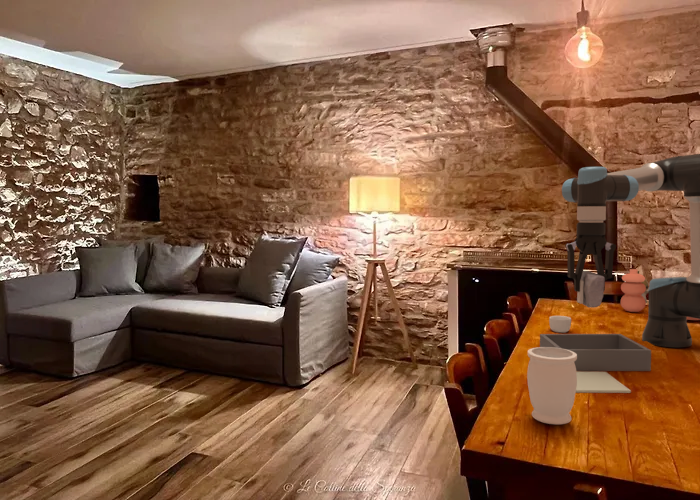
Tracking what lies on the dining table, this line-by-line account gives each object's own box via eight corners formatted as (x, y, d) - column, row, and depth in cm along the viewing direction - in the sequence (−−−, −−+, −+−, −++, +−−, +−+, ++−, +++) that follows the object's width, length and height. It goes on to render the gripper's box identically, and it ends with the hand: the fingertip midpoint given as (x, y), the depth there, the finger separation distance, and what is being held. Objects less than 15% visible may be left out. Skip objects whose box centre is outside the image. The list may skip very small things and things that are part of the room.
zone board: (605, 373, 153) (605, 371, 153) (630, 392, 137) (630, 390, 137) (547, 373, 154) (547, 371, 154) (565, 392, 138) (565, 390, 138)
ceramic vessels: (712, 313, 236) (714, 270, 234) (713, 321, 218) (714, 275, 217) (623, 306, 255) (624, 266, 254) (617, 314, 238) (618, 271, 236)
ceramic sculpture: (649, 304, 257) (650, 273, 256) (629, 303, 262) (630, 272, 261) (651, 301, 266) (652, 271, 265) (631, 300, 271) (632, 270, 270)
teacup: (568, 335, 200) (568, 320, 200) (547, 332, 204) (547, 318, 204) (573, 329, 209) (574, 315, 208) (552, 327, 213) (553, 314, 212)
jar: (519, 410, 127) (520, 347, 126) (562, 408, 128) (563, 345, 126) (539, 428, 116) (539, 359, 115) (585, 426, 117) (586, 357, 116)
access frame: (620, 352, 175) (620, 333, 175) (650, 370, 155) (651, 350, 155) (539, 352, 177) (539, 334, 177) (559, 370, 157) (559, 350, 156)
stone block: (608, 309, 150) (605, 273, 149) (589, 310, 151) (587, 275, 150) (594, 302, 162) (591, 269, 161) (577, 303, 162) (574, 270, 162)
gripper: (617, 221, 158) (614, 301, 159) (555, 221, 159) (554, 300, 161) (628, 221, 150) (625, 305, 152) (563, 222, 152) (561, 304, 153)
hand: (588, 302), depth 156 cm, fingers closed on stone block, 4 cm apart
